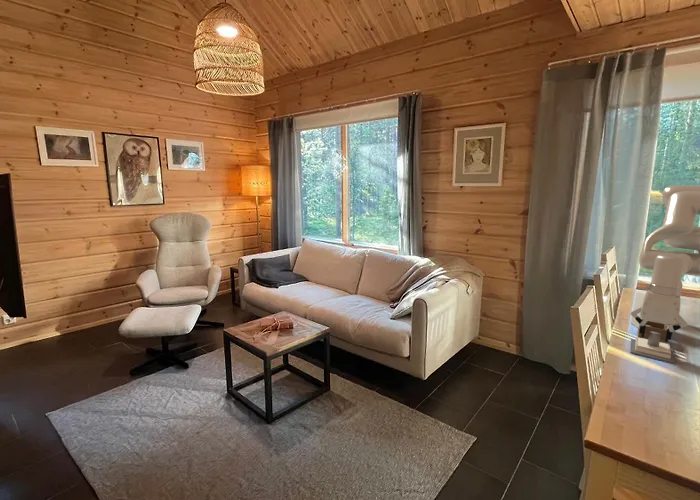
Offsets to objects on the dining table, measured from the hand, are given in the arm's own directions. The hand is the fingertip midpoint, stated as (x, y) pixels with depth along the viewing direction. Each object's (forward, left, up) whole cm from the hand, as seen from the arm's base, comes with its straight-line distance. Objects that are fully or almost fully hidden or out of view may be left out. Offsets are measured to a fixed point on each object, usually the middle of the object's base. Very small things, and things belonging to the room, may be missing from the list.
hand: (654, 338), depth 129 cm
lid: (0, 0, -5) cm, 5 cm away
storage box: (-12, +6, -5) cm, 14 cm away
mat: (0, 0, -5) cm, 5 cm away
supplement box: (-24, +12, -5) cm, 28 cm away
